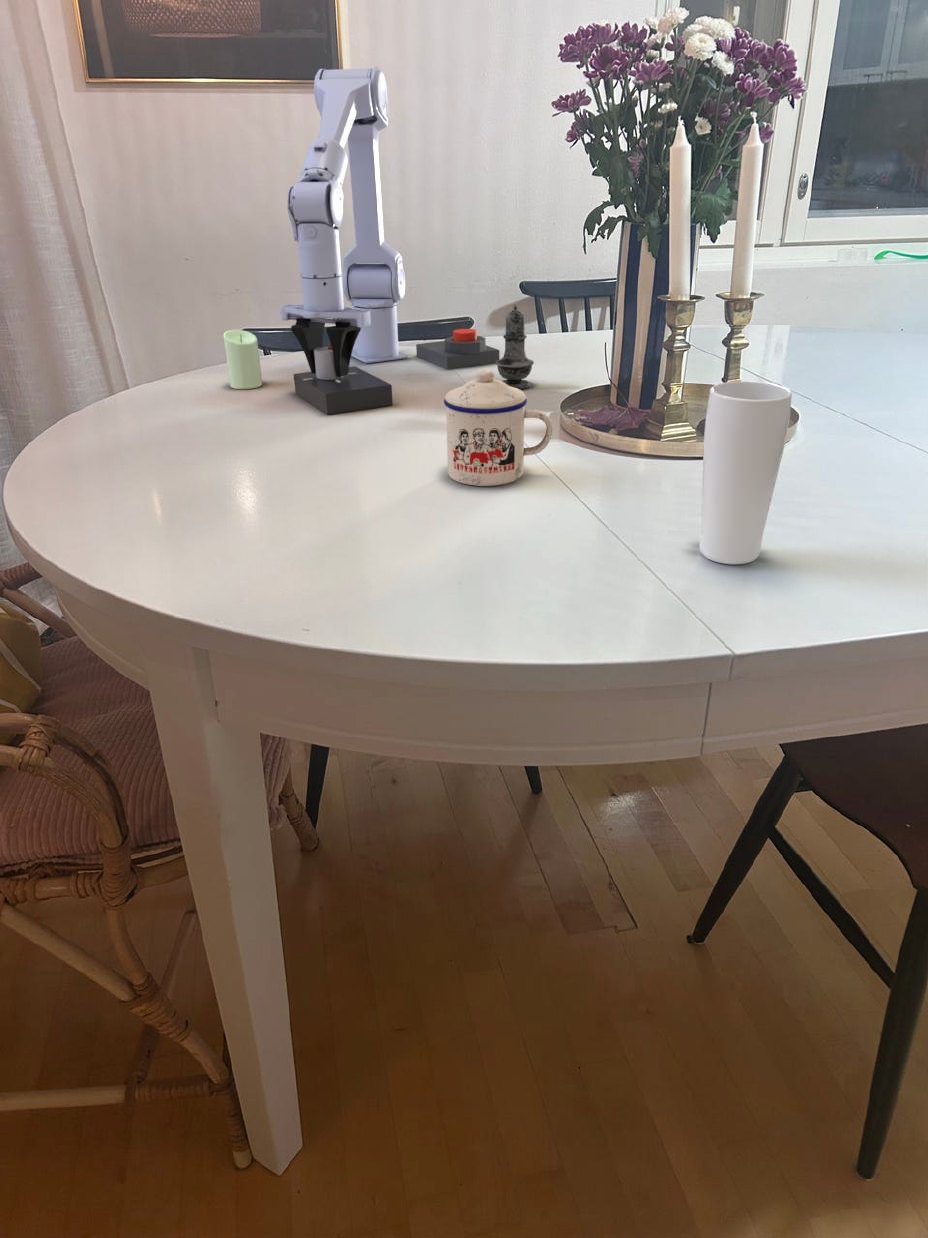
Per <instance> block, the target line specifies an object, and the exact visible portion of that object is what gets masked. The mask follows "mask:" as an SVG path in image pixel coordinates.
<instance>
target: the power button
mask: <svg viewBox="0 0 928 1238" xmlns="http://www.w3.org/2000/svg"><path fill="white" fill-rule="evenodd" d="M452 336H453V341H458V342H471V341H477V336H478V330H477V329H474V328H458V329H454V330H453V331H452Z"/></svg>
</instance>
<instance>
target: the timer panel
mask: <svg viewBox="0 0 928 1238" xmlns="http://www.w3.org/2000/svg"><path fill="white" fill-rule="evenodd" d="M293 382H294V392H295V395H297V396H298V397H300V398H302V399H303V400H304V401H306V402H308V403H309V404H310V405H312V406H314V407H315V408H317V409H318V410H320V411H321V412H323V413H324V414H325V415H328V416H329V415H337V414H343V413H349V412H357V411H364V410H370V409H377V408H385V407H390V406H393V405H394V404H393V403H394V402H393V385H392V384H391V383H389V382H387V381H385V380H384V379H381V378H379V377H377V376H375V375H373V374H372V373H369V372H367V371H365V370H363V369H361V367H358V366H356V365H352V366H349V371H348V374H347V375H344V376H343V377H342V378H340V379H334V380H321V379H318V378H317V377H316V374H313V373H311V371H306V372H298V373H293Z"/></svg>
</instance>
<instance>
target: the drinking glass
mask: <svg viewBox="0 0 928 1238" xmlns="http://www.w3.org/2000/svg"><path fill="white" fill-rule="evenodd" d="M792 397H793V393H792V391H791V390H790V389H789V388H786V387H784V386H782V385H778V384H774V383H769V382H763V381H762V382H761V381H745V380H744V381H743V380H740V381H738V380H737V381H725V382H721V383H718V384H715V385H712V386H711V387H710V389H709V394H708V400H707V404H706V405H707V406H706V413H705V419H704V420H705V421H704V430H703V431H704V432H703V447H702V448H703V449H702V450H703V452H702V496H701V522H700V523H701V525H700V537H699V551H700V553H701V554H702V555H703V556H704V557H705V558H706V559H708V560H710V561H713V562H715V563H719V564H722V565H723V564H724V565H745V564H749V563H752V562H753V561H755V560H756V559H757V558H758V557H759V555H760V553H761V549H762V543H763V536H764V531H765V527H766V523H767V519H768V515H769V511H770V507H771V502H772V499H773V494H774V491H775V486H776V482H777V478H778V475H779V471H780V467H781V462H782V458H783V454H784V449H785V446H786V440H787V436H788V431H789V425H790V416H791V410H792V409H791V407H792V399H793V398H792Z"/></svg>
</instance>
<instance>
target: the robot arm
mask: <svg viewBox="0 0 928 1238" xmlns="http://www.w3.org/2000/svg"><path fill="white" fill-rule="evenodd" d="M313 81H314V82H313V94H314V101H315V105H316V108H317V110H318V112H319V115H320V123H319V124H320V125H319V129H318V130H319V131H318V137H317V138H316V139H314V140H313V141H311V142H310V144H309V145H308V147H307V151H306V154H305V157H304V162H303V165H302V168H301V173H300V176H299V181H296V182H295V183H294V184H293V185H291V186H290V187H289V189H288V191H287V214H288V218H289V221H290V224H291V228H292V235H293V239H294V241H295V242H296V243H297V247H298V248H297V250H298V259H299V260H298V261H299V270H300V283H301V290H302V291H301V292H302V303H303V304H285V305H280V306H279V310H280V319H281V321H290V320H291V321H295V324H293V325H291V326H290V329H291V332H292V333H293V335H294V337H295V339H296V340H297V341H298V343H299V345H300V347H301V349H302V351H303V353H304V355H305V358H306V361H307V364H308V367H309V369H310V372H311V373H313V374H316V367H315V356H314V349H316V348H319V347H324V346H323V345H324V334H325V333H324V332H325V331H326V334H327V337H328V339H329V342H330V347H332V350H333V356H334V366H335V372H336V376H337V377H342V376H344V375H347V374H348V371H349V367H350V364H351V358H354V359H356V360H358V361H360V362H363V363H365V364H373V363H379V362H389V361H395V360H403V359H408V355H407V354H406V353H402V352H400V351H399V333H398V332H399V331H398V330H399V329H398V328H399V327H398V311H397V308H398V307H397V305H398V304H399V303H402V300H403V299H404V297H405V293H406V274H405V273H406V272H405V270H404V265H403V257H402V255H401V253H400V252H399V251H397V250H396V249H395V248H393V247H392V246H391V245H390V244H388V243H387V242H386V241H385V231H384V230H385V229H384V215H383V214H384V213H383V200H382V199H383V197H382V184H381V169H380V153H379V152H380V151H379V137H380V131H381V130H383V129H386V128H387V127H388V126H389V103H388V102H389V101H388V99H389V98H388V85H387V82H386V78H385V75H384V73H383V71H382V70H381V69H380V68H379V66H374V67H372V68H371V67H370V68H343V69H342V68H340V69H339V68H338V69H337V68H335V69H326V68H320V69H318V70H317V73H316V74H315V76H314V80H313ZM346 143H347V148H348V149H347V150H348V154H347V152H346V150H345V146H346ZM348 164H349V173H350V186H351V199H352V210H353V223H354V236H355V245H353V246H352V248H351V249H349V250H348V251H347V252H346V253H345V254H344V256H343V257H342V258H341V247H340V246H341V245H340V232H339V230H340V229H339V228H340V227H341V225H342V222H343V218H344V196H345V195H344V191H343V184H344V181H345V177H346V173H347V168H348ZM344 298H345V299H346V300H347V301H348V302H349V303H350V306H351V307H347V306H345V299H344ZM326 324H332V326H330V327H326V329H325V326H326Z"/></svg>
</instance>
